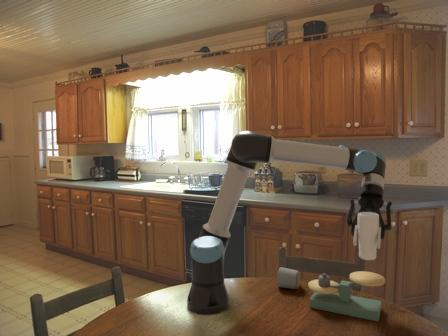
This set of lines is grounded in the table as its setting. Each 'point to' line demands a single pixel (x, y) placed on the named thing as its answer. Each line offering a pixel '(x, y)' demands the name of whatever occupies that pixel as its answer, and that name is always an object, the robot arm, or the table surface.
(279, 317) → the table surface
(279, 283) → the ceramic mug
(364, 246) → the white cup
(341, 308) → the balance
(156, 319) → the table surface
